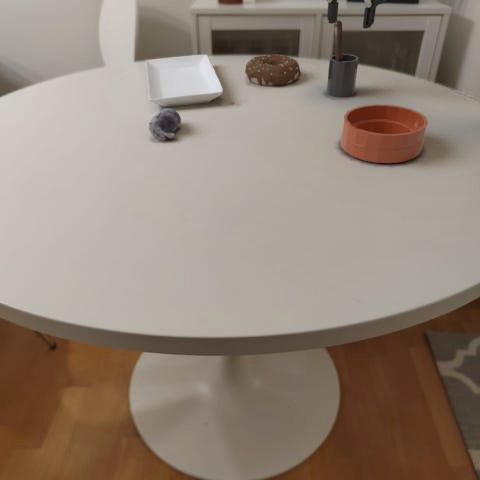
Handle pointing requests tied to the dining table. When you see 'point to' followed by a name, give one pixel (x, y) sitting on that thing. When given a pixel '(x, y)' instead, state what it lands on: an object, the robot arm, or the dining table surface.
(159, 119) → the grey plush toy
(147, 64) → the tray
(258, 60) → the donut
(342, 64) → the holder
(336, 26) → the stick
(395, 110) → the bowl
